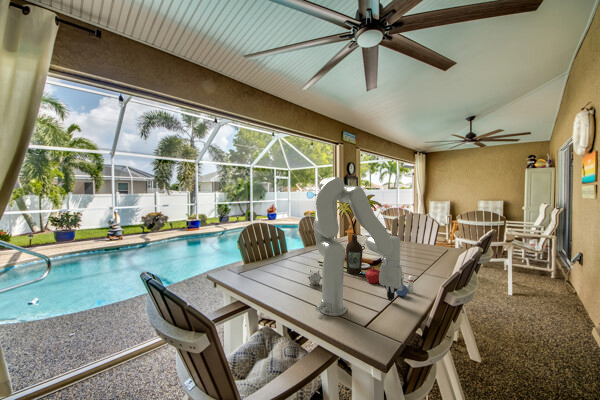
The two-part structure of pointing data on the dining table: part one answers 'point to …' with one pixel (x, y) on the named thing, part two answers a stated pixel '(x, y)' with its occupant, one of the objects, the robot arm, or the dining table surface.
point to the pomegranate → (373, 276)
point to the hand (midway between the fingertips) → (390, 299)
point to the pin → (410, 284)
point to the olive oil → (354, 256)
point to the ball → (403, 292)
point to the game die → (314, 277)
